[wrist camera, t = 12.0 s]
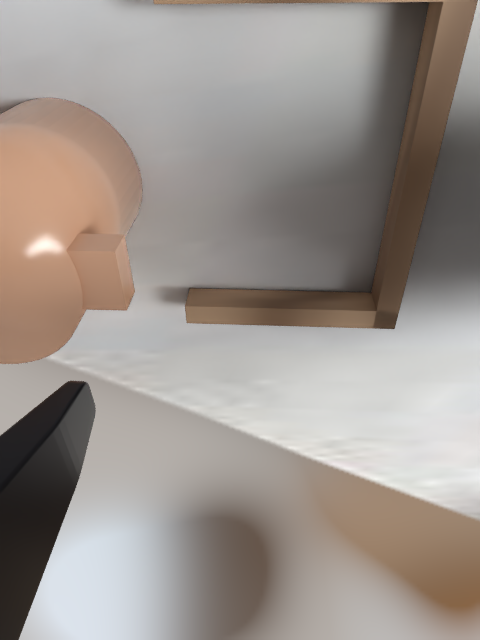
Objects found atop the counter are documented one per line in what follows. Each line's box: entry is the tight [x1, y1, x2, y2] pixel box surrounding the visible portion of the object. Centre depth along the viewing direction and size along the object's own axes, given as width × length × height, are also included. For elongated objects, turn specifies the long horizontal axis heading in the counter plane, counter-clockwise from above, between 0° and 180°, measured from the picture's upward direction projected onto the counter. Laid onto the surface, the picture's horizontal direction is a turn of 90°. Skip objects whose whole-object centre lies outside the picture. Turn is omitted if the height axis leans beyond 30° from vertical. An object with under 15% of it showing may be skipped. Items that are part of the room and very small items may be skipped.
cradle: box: [154, 0, 478, 329], centre depth 18 cm, size 10×14×2 cm
